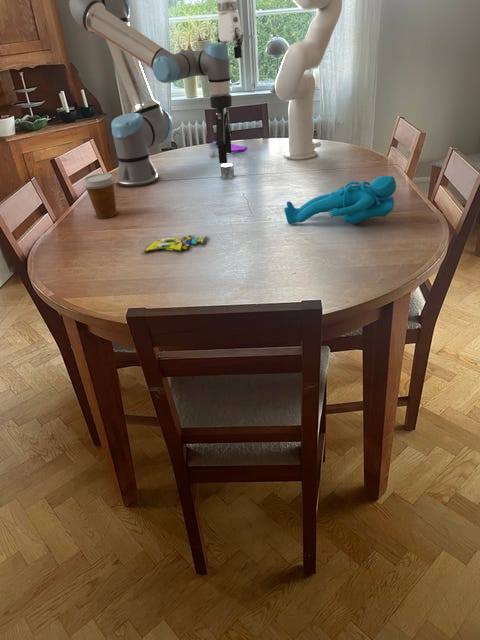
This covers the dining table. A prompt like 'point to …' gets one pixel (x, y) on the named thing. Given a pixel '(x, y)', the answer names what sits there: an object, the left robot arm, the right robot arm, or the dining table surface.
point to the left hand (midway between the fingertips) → (225, 157)
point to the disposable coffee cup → (101, 194)
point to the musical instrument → (233, 148)
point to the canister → (227, 171)
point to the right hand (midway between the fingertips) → (231, 57)
